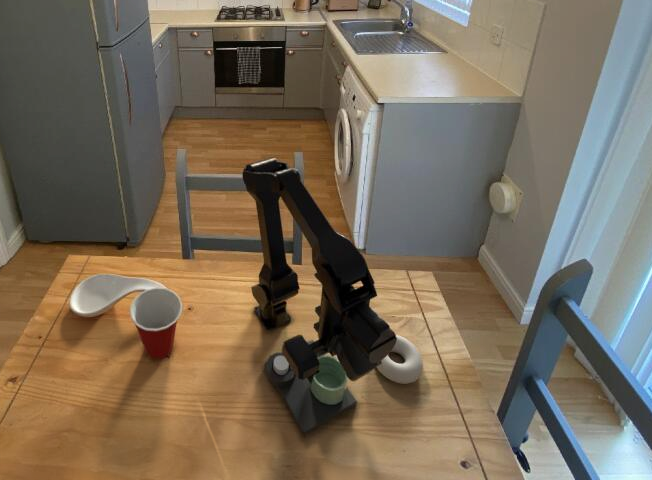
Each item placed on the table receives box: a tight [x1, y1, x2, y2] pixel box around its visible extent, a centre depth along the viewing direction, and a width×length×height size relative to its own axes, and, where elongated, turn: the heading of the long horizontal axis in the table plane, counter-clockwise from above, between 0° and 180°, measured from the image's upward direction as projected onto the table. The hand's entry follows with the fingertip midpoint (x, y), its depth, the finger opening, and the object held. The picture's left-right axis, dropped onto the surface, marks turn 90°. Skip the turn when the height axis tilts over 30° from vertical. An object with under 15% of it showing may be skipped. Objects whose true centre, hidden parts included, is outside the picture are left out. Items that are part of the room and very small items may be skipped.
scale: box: [264, 339, 358, 437], centre depth 82 cm, size 14×13×3 cm
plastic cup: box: [129, 287, 183, 360], centre depth 89 cm, size 11×11×12 cm
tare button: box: [273, 356, 289, 375], centre depth 84 cm, size 3×3×2 cm
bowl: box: [309, 354, 349, 405], centre depth 81 cm, size 7×7×4 cm
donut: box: [376, 334, 424, 385], centre depth 86 cm, size 10×3×10 cm
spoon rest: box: [68, 273, 167, 318], centre depth 100 cm, size 24×12×7 cm, turn 89°
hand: (329, 370), depth 79 cm, fingers open, 9 cm apart
